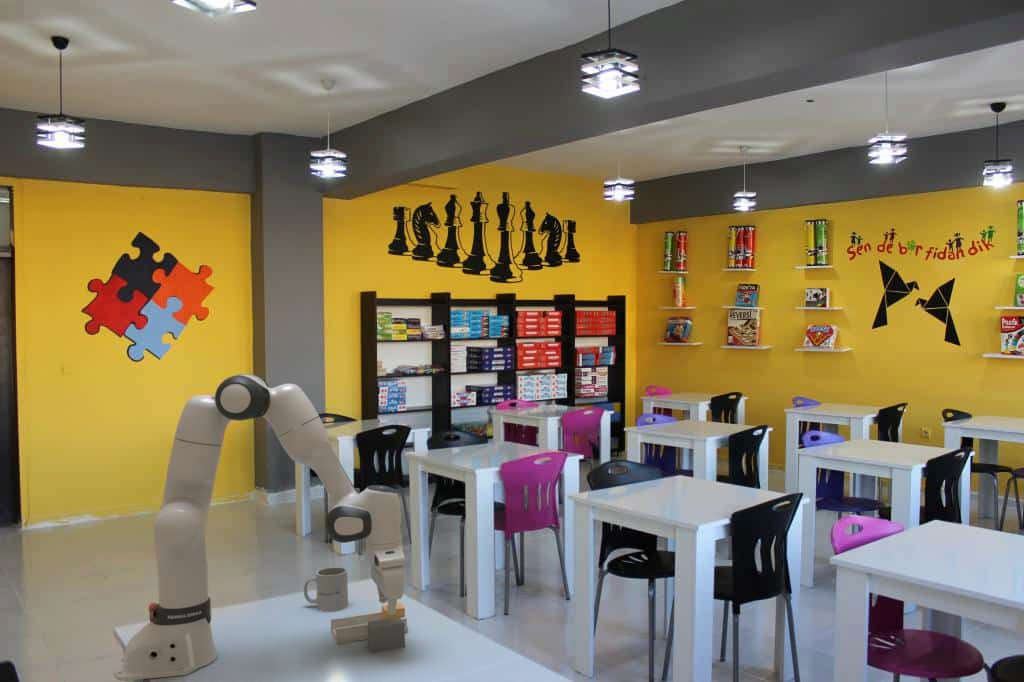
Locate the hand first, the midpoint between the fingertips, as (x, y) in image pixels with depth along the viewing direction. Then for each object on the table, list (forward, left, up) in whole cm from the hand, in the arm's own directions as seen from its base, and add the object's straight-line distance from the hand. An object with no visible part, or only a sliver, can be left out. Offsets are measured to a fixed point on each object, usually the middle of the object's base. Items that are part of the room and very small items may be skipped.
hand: (387, 607), depth 200 cm
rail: (-3, +12, -9) cm, 15 cm away
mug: (-10, +38, -10) cm, 40 cm away
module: (-1, 0, -10) cm, 10 cm away
